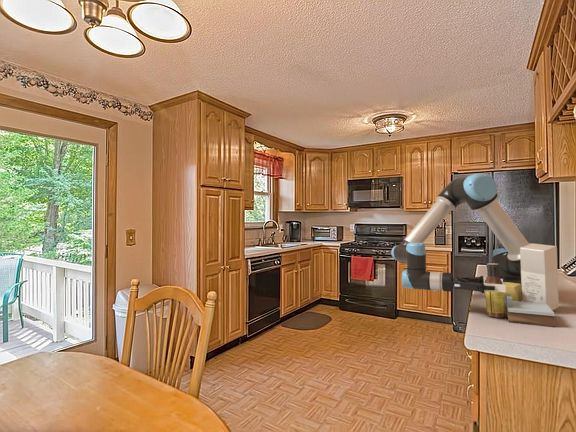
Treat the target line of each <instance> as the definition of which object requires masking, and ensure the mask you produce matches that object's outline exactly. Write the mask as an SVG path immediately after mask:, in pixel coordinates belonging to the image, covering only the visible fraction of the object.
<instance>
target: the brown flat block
mask: <svg viewBox="0 0 576 432" xmlns="http://www.w3.org/2000/svg"><path fill="white" fill-rule="evenodd" d="M505 309H506V312H505V317H506V318H508V319H507V321H509V322H508V323H510V322H511V324H519V323H520V324H522V325H530V326H539V327H540V326H541V327H549V328H556V320H555V316H547V315H536V314H526V313H515V312H508V309H507V307H506V304H505ZM520 324H519V325H520Z"/></svg>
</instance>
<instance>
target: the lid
mask: <svg viewBox="0 0 576 432" xmlns="http://www.w3.org/2000/svg"><path fill="white" fill-rule="evenodd" d="M505 296H506V300H505V304H506V307H507V309H508V312H515V313H526V314H536V315H547V316H554V317H555V316H556V315H555V312H554V310H551V308H550V307H549V306H548V305H547V304H544V303H532V302H519V301H512V297H511V295H510V294H505Z"/></svg>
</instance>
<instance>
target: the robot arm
mask: <svg viewBox="0 0 576 432" xmlns="http://www.w3.org/2000/svg"><path fill="white" fill-rule="evenodd" d="M497 188H498V185H497V182H496V180H495V178H493V177H492V176H491V175H489V174H486V173H473V174H469V175H467V176H461V177H456V178H455V179H453V180H451V181H450V182H449V183H448V184H446V186H445V187H444V188H443V189H442V191H440V193H439V194H438V195H437V196H436V198H435V202H434V203H433V204H432V205H431V206H430V208H429V209H428V210H427V211H426V213H424V215H423V216H422V218H421V219H420V220H419V221H418V222H417V223H416V224H415V225H414V227H413V228H412V229H411V231H409V233H408V234H407V235H406V236H405V237H404V239H402V240H401V242H400V244H397V245H394V246H393V247H392V249H391V252H390V255H391V257H392V258H393V259H394V260H395V261H397V262H399V263H405V264H406V270H403V271H402V272H401V284H402V287H404V288H405V289H412V290H424V291H433V292H434V293H436V292H438V291H439V292H440V291H443V292H451V293H452V292H453V291H454V289H456V290H457V289H460V290H466V291H472V292H480V293H481V294H485V291H491V292H505V293H506V285H504V284H487V283H485V280H486V278H487V277H484V275H480V276H463V277H462V276H456V277H455V278H454V274H453V273H452V272H441V271H427V251H426V245H425V241H427V239H428V238H429V237H430V235H431V234H432V233H433V232H434V231H435V230H436V228H437V227H438V226H439V225H440V224H441V222H442V221H443V220H444V219H445V218H446V217H447V215H448V214H449V213H450V212H452V211H454V210H456V208H457V207H459V206H460V205H461V204H464V203H465V204H467V206H468V207H469V209H471V210H472V211H475V212H478V214H479V215H480V217H481V218H482V220H483V221H484V222H485V223H486V225H487V226H488V227H489V229H490V230H491V232H492V233H493V234H494V236H495V237H496V238H497V240H498V241H499V242H500V243H501V245H502V246H503V247H502V248H501V247H500V248H495V249H493V251H492V256H491V258H492V263H496V264H499V268H498V269H499V276H500V279H501V281H502V283H503V282H510V283H517V284H521V294H522V283H521V259H520V248H521V247H524V246H526V245H529V244H532V243H531V242H528V240H527V239H526V238H525V236H524V235H523V234H522V232H521V231H520V229H519V228H518V227H517V225H516V224H515V223H514V221H513V220H512V219H511V218H510V216H509V215H508V212H506V210H505V209H504V208H503V206H502V205H501V204H500V202H499V201H498V197H499V194H498V193H497V192H498V189H497Z"/></svg>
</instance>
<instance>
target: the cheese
mask: <svg viewBox="0 0 576 432" xmlns="http://www.w3.org/2000/svg"><path fill="white" fill-rule="evenodd" d="M503 284H504V285H506V293H505V292H504V296H505V294H510V295H511V297H512V301H519V302H522V294H521V284H517V283H510V282H503ZM505 300H506V296H505Z"/></svg>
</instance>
